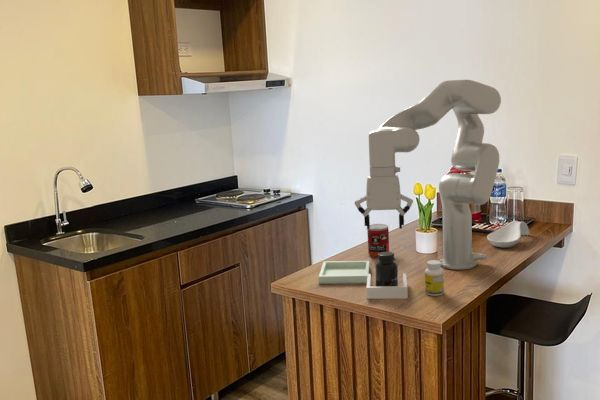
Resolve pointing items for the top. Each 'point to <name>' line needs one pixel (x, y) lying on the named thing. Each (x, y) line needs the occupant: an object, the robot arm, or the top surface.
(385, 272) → the supplement bottle
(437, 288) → the supplement bottle
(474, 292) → the top surface
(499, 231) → the spoon rest
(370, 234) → the canned food
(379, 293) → the bay
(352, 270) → the tray
